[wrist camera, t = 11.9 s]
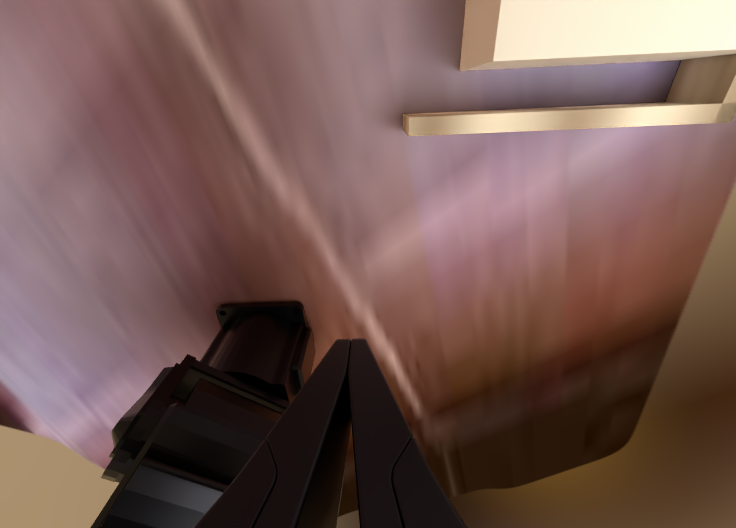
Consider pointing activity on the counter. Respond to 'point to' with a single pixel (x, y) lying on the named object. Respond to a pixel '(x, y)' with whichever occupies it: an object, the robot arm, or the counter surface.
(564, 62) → the carton
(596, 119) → the tan tray
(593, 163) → the counter surface
